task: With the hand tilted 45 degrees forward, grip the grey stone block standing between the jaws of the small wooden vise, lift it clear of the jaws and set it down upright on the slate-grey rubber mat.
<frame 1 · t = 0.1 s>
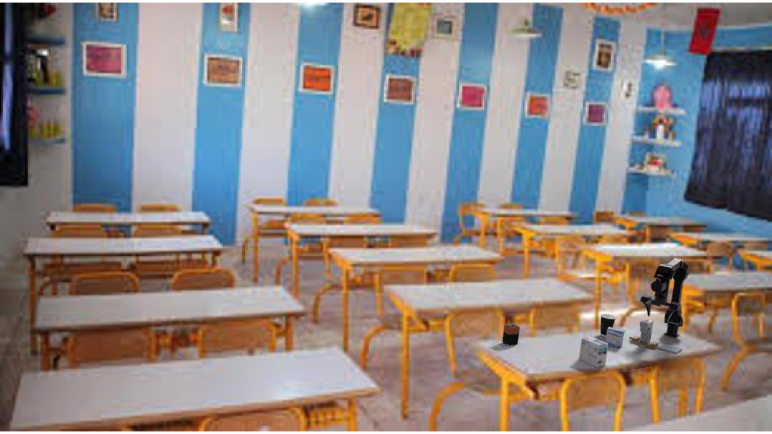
hand: (657, 318, 335), 15 cm above the table, tool pointing down, fingers open, 9 cm apart
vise: (644, 344, 339), on the table
grey stone block: (644, 344, 339), resting in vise
battery: (509, 343, 322), on the table
mat: (669, 349, 335), on the table
light bulb box: (591, 362, 307), on the table
dixie cup: (605, 336, 347), on the table
medicine box: (613, 345, 333), on the table
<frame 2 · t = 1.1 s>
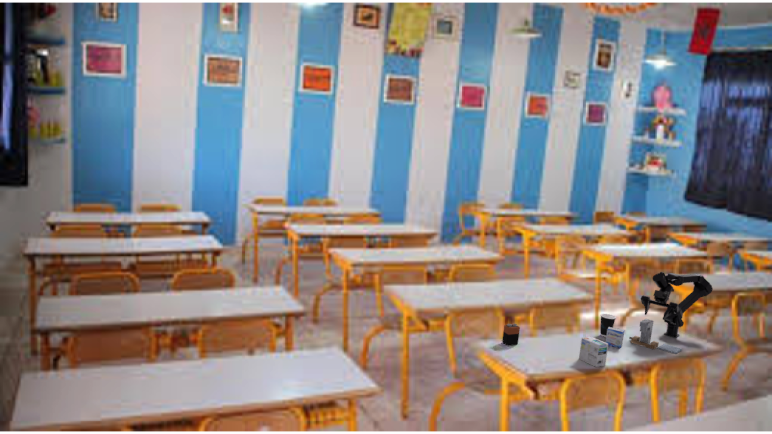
hand: (654, 317, 343), 13 cm above the table, tool tilted 45°, fingers open, 9 cm apart
nothing on the table moved.
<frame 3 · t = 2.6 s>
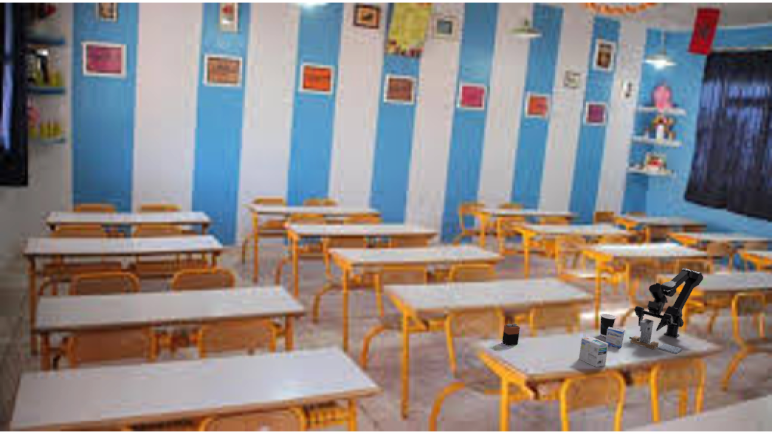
hand: (647, 328, 338), 9 cm above the table, tool tilted 45°, fingers open, 9 cm apart
nothing on the table moved.
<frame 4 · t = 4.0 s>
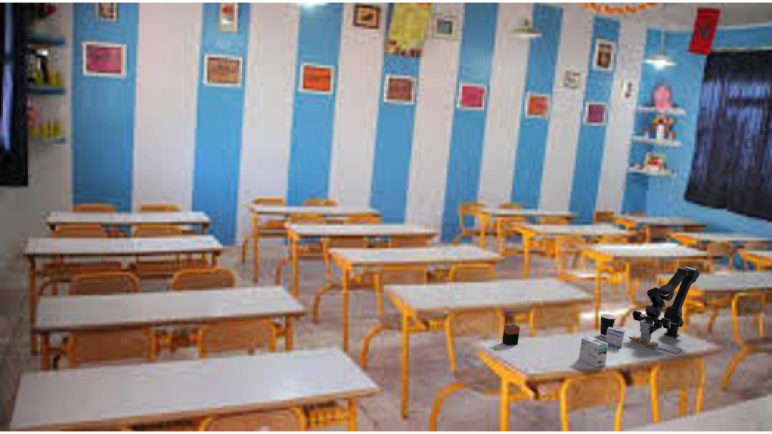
hand: (645, 332, 337), 7 cm above the table, tool tilted 45°, fingers closed on grey stone block, 4 cm apart
grey stone block: (644, 344, 339), resting in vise, touching gripper
everything else where it was.
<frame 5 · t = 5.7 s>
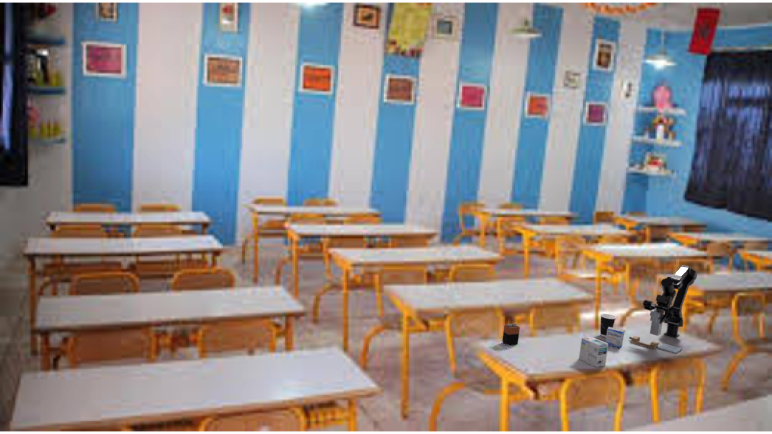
hand: (656, 322, 335), 13 cm above the table, tool tilted 45°, fingers closed on grey stone block, 4 cm apart
grey stone block: (655, 333, 337), point 7 cm above the table, touching gripper
everything else where it was.
when the fingers open (8 cm above the table, at t = 7.7 s): grey stone block stays where it is, resting on mat.
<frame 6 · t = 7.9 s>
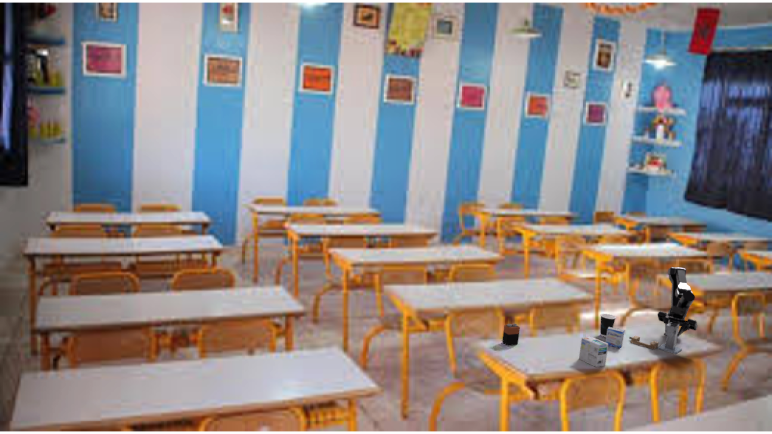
hand: (671, 334, 332), 9 cm above the table, tool tilted 45°, fingers open, 6 cm apart
grey stone block: (670, 347, 335), point 1 cm above the table, touching mat
everything else where it was.
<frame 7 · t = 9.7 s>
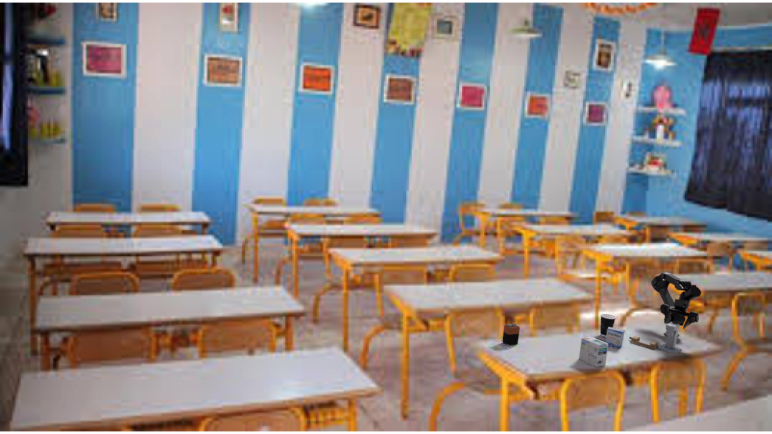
hand: (674, 326, 340), 10 cm above the table, tool tilted 45°, fingers open, 9 cm apart
nothing on the table moved.
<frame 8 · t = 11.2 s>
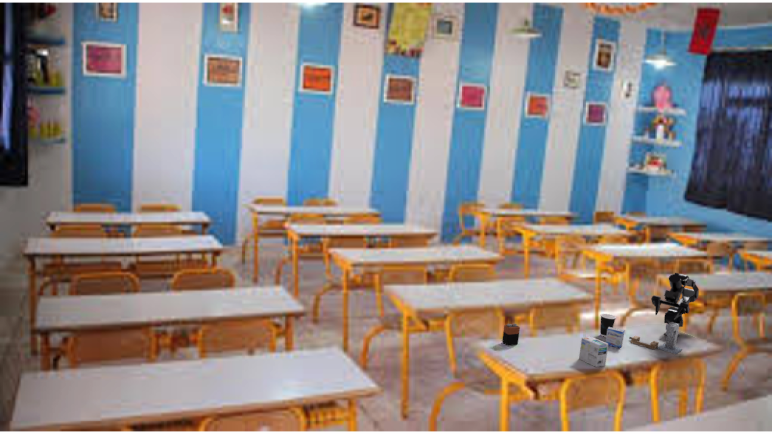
hand: (664, 317, 344), 14 cm above the table, tool tilted 45°, fingers open, 9 cm apart
nothing on the table moved.
at the end: grey stone block inside the target area on the mat (0.1 cm from its centre), point 0.8 cm above the mat's base; grey stone block tilted 0°; the gripper is holding nothing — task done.
